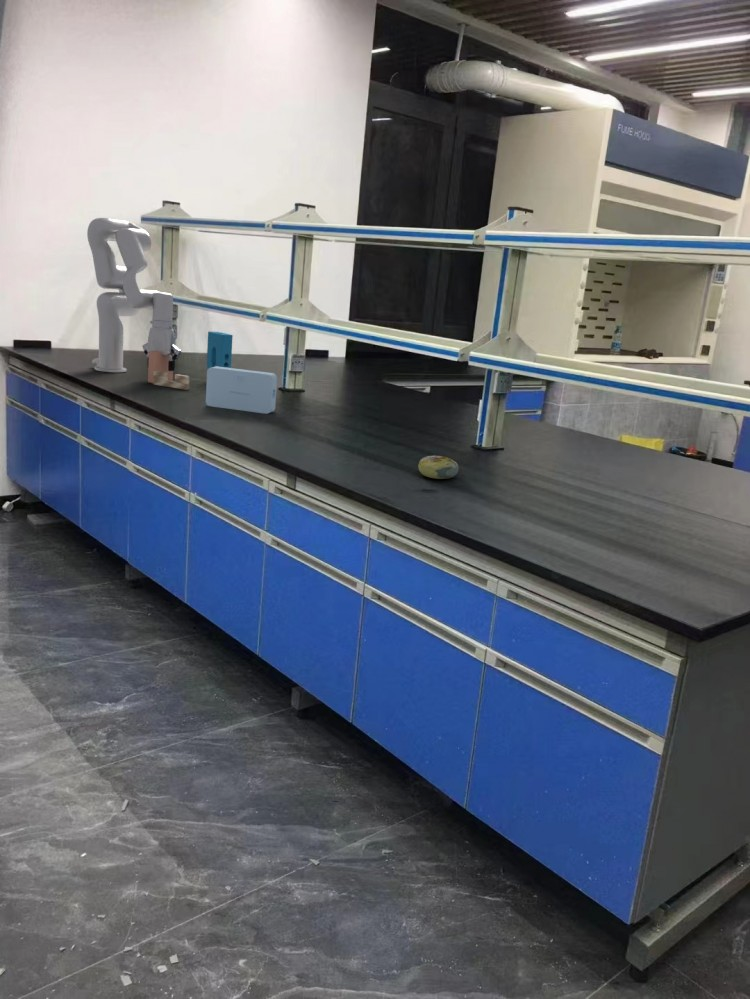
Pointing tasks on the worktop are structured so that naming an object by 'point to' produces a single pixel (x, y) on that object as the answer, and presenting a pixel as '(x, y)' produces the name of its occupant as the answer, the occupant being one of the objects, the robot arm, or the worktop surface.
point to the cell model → (438, 467)
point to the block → (219, 350)
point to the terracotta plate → (158, 365)
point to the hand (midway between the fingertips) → (160, 369)
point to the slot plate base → (162, 380)
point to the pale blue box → (241, 389)
